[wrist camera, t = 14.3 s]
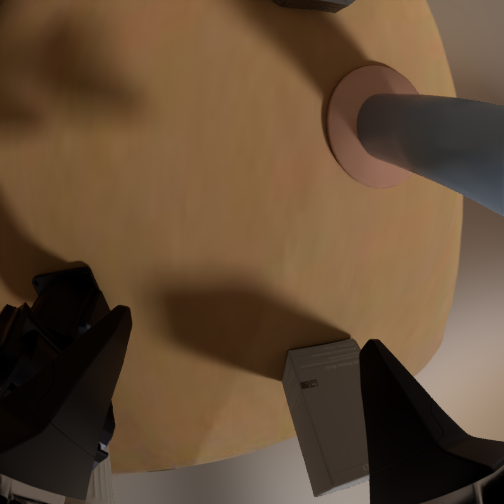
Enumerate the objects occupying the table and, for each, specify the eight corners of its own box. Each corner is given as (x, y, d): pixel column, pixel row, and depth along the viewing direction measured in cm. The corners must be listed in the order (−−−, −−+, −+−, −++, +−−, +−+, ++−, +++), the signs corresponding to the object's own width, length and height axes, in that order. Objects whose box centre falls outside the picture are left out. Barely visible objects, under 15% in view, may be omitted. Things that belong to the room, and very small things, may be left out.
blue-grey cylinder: (346, 141, 17) (489, 192, 7) (371, 80, 15) (516, 86, 5) (395, 171, 19) (517, 235, 9) (417, 116, 17) (543, 151, 7)
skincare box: (354, 335, 28) (422, 449, 15) (338, 373, 32) (388, 473, 18) (283, 348, 27) (337, 489, 13) (276, 386, 30) (315, 502, 17)
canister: (41, 427, 30) (30, 519, 12) (3, 372, 22) (-29, 494, 4) (128, 448, 35) (133, 549, 17) (113, 403, 27) (111, 553, 9)
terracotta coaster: (327, 191, 20) (330, 193, 19) (321, 58, 15) (325, 57, 14) (421, 184, 21) (424, 185, 20) (423, 77, 16) (427, 77, 15)
